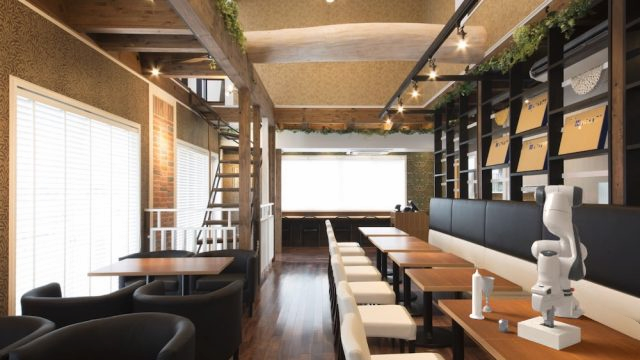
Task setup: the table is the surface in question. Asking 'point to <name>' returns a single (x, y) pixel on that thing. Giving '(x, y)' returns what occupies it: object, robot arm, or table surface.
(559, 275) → the robot arm
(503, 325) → the short pin
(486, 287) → the chalice
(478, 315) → the candle
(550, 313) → the long pin
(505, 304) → the table surface
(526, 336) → the hole block
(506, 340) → the table surface
